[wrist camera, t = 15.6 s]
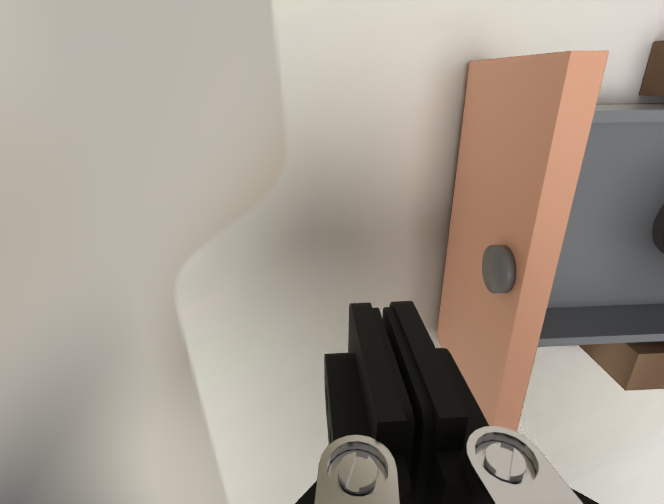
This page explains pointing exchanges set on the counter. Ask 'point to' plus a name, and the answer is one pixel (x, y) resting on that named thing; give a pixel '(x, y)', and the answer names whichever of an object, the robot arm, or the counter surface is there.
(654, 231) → the beverage cup
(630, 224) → the tray
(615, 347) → the housing
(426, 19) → the counter surface
